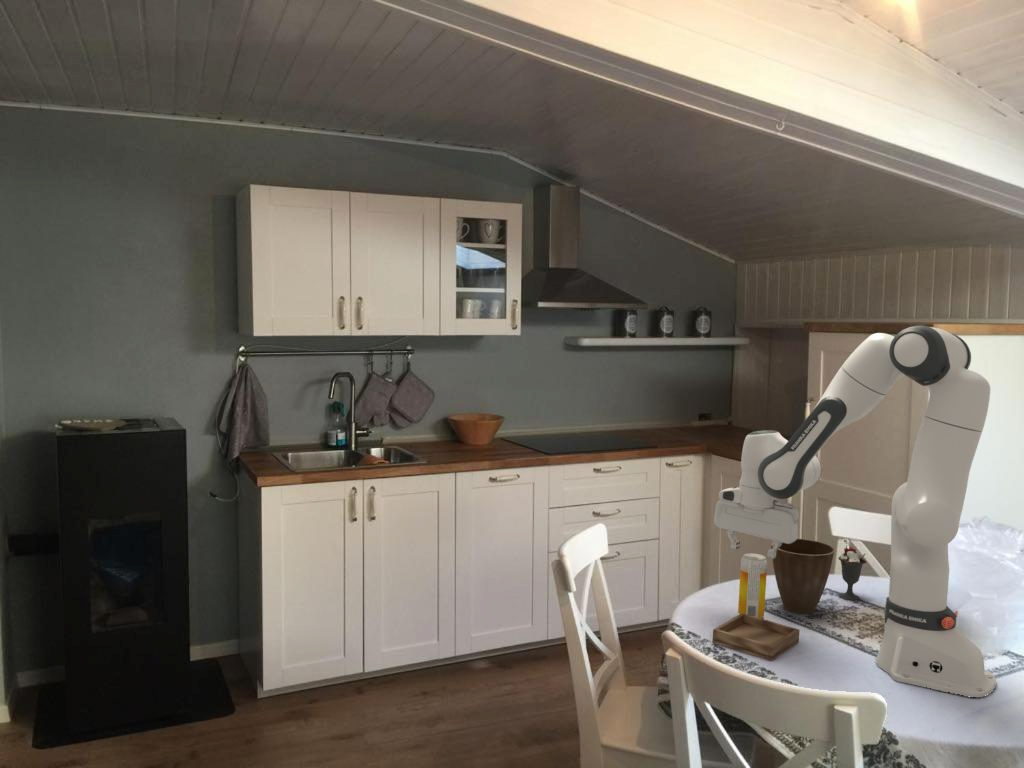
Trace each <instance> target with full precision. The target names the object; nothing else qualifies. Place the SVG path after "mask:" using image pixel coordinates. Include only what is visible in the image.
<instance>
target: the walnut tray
mask: <svg viewBox="0 0 1024 768" xmlns="http://www.w3.org/2000/svg"><path fill="white" fill-rule="evenodd" d="M800 633H801V631H800V629H799V628H796V627H793V626H789V625H786V624H785V625H784V624H781V623H778V622H774V621H771V620H768V619H764V618H762V619H761V618H757V617H754V616H750V615H747V614H743V613H742V614H738V615H736V616H734V617H733V618H731V619H729V620H727V621H726V622H724V623H722V624H720V625H719V626H716V627H715V628H713V629H712V643H713V642H714V643H713V644H716V643H717V645H720V646H723V647H727V648H728V649H729V648H730V649H733V650H736V651H739V652H743V653H745V654H749V655H752V656H755V657H758V658H762V659H765V660H768V661H771V662H772V661H774V660H776V659H777V658H778V657H780V656H781V655H783V654H785V652H787V651H788V650H790V649H791V648H793V647H794V646H796V645H797V644H799V643H800ZM798 642H799V643H798ZM795 644H796V645H795Z"/></svg>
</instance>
